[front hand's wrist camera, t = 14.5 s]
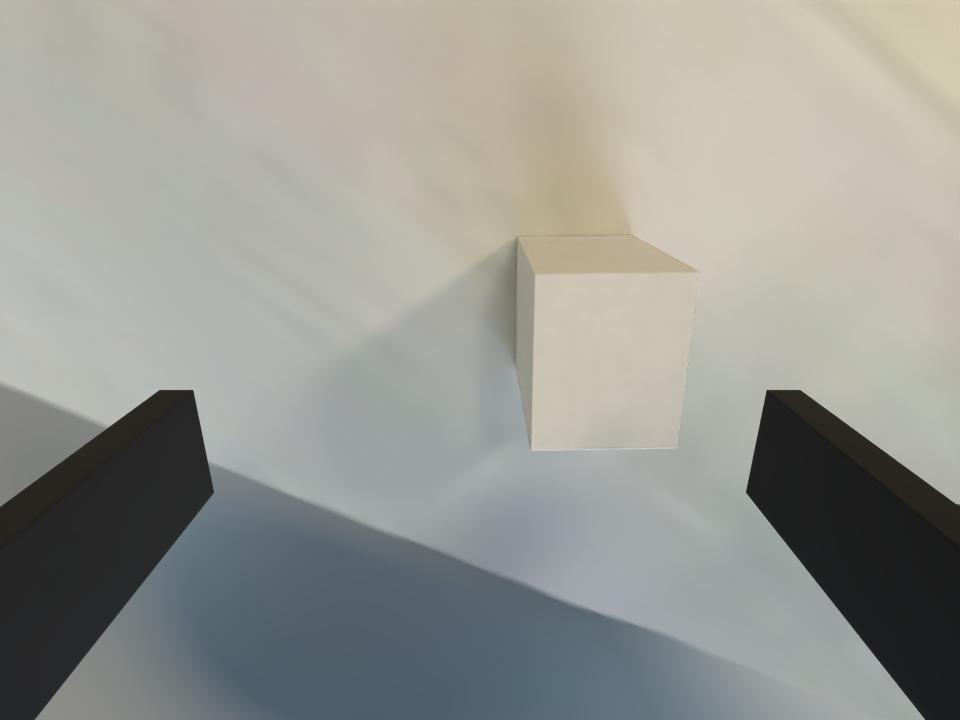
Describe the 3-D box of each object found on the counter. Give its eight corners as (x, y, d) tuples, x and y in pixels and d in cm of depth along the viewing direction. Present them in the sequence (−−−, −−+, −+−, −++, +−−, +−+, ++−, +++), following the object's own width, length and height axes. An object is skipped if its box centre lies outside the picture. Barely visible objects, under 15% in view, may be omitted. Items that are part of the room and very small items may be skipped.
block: (516, 236, 27) (534, 273, 19) (633, 234, 27) (701, 271, 19) (515, 367, 30) (530, 451, 22) (621, 365, 30) (677, 449, 22)
